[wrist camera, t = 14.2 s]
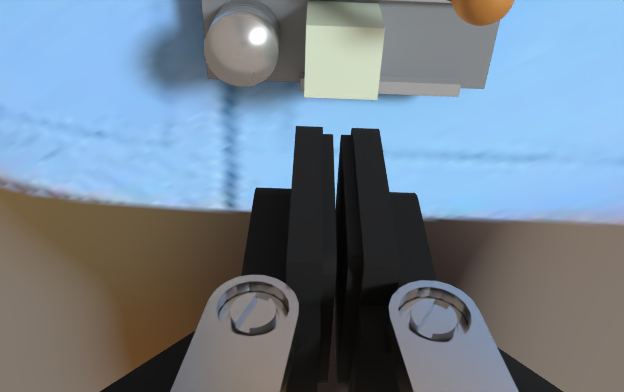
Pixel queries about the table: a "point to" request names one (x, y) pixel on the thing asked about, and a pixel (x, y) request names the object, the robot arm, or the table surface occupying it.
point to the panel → (393, 46)
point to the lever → (481, 10)
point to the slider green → (343, 50)
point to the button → (243, 43)
